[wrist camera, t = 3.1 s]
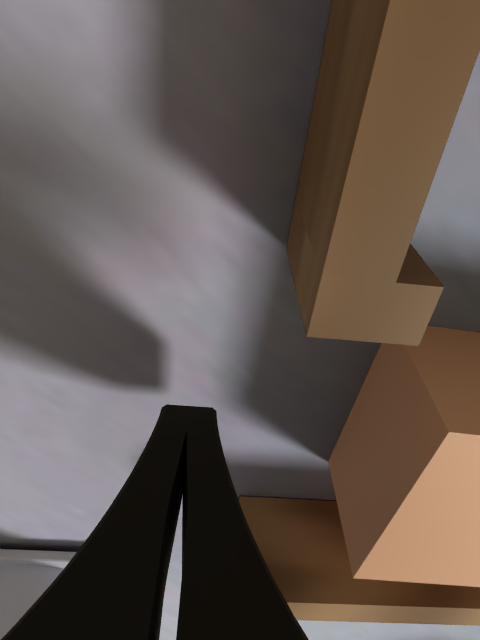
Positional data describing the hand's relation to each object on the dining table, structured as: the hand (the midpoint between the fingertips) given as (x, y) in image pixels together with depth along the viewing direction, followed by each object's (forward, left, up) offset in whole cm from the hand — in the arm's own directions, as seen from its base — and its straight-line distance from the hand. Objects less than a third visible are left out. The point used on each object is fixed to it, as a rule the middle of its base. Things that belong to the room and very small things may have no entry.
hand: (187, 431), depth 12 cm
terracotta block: (+8, 0, -2) cm, 8 cm away
